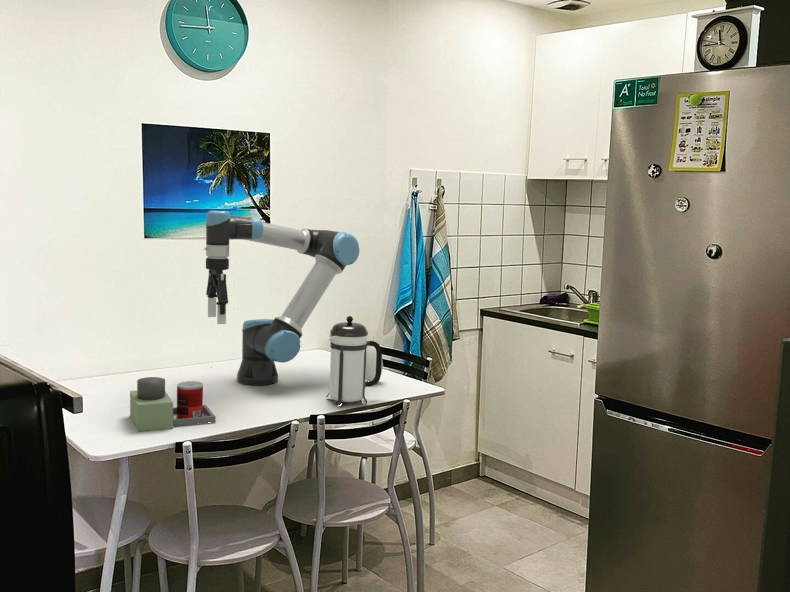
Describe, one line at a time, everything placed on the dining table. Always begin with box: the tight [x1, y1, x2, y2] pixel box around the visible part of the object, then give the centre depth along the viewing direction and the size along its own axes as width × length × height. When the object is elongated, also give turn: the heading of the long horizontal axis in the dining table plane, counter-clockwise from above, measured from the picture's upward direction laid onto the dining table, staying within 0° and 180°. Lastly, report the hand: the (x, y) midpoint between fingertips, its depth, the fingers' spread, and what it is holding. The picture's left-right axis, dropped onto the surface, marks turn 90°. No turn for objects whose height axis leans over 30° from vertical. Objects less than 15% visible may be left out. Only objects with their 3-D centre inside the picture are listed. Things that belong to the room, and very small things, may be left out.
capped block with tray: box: [129, 376, 217, 432], centre depth 236 cm, size 23×16×13 cm
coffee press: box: [325, 315, 383, 406], centre depth 264 cm, size 17×16×30 cm
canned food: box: [176, 380, 204, 419], centre depth 238 cm, size 8×8×11 cm
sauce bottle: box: [365, 336, 384, 382], centre depth 291 cm, size 8×8×18 cm
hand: (216, 320), depth 260 cm, fingers open, 13 cm apart
